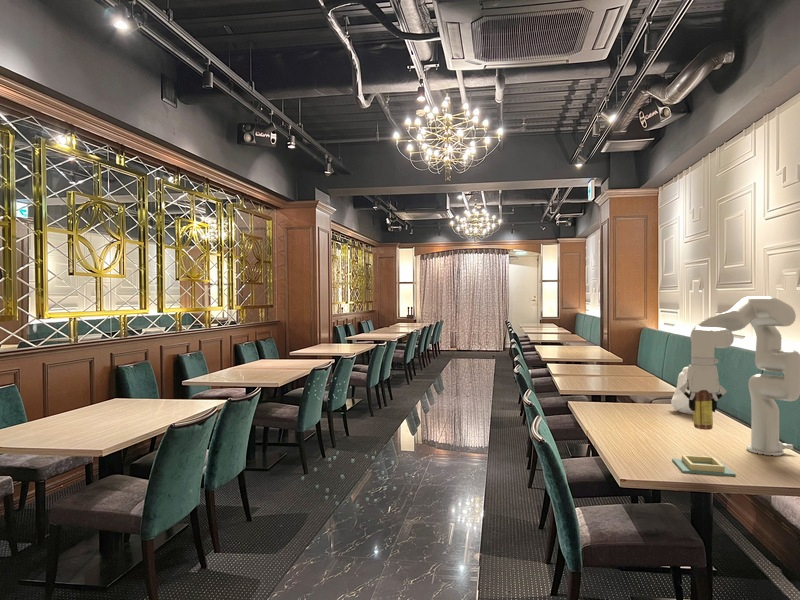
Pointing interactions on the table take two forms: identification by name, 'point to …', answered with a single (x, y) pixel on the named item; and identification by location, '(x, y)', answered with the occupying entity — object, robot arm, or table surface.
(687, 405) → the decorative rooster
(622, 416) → the table surface
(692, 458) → the teal board with frame
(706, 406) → the sauce bottle
